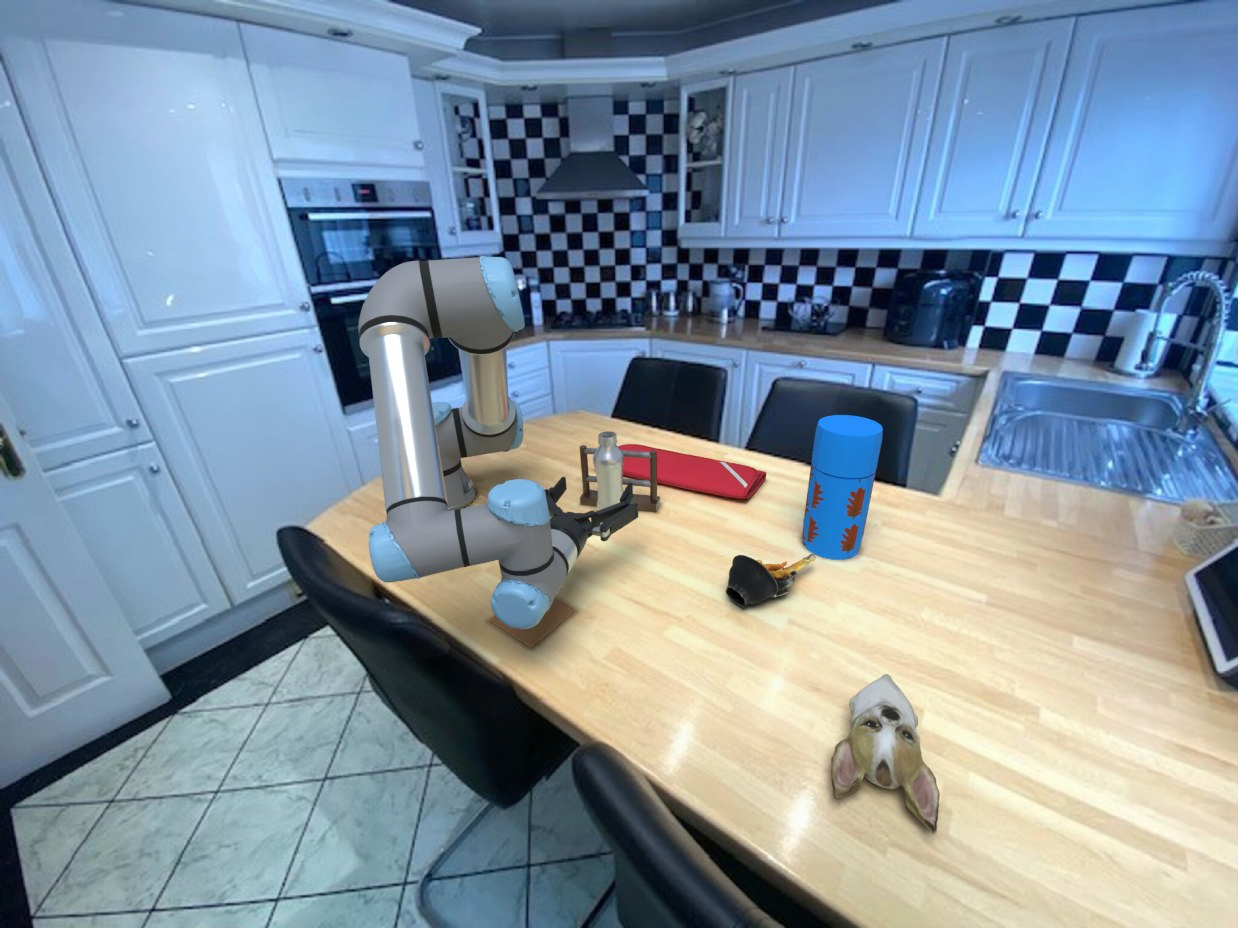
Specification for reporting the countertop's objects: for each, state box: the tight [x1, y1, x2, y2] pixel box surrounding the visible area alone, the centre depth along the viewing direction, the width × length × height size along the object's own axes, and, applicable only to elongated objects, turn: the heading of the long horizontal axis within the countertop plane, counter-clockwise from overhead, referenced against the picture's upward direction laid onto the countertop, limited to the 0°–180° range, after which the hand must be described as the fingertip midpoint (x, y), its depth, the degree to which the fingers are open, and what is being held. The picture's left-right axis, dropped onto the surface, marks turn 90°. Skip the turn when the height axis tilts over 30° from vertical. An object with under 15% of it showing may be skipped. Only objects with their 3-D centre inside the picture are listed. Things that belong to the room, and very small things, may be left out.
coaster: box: [489, 598, 576, 648], centre depth 84 cm, size 10×10×1 cm
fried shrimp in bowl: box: [725, 553, 817, 608], centre depth 87 cm, size 9×11×18 cm
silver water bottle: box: [592, 431, 625, 511], centre depth 107 cm, size 6×7×20 cm
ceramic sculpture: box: [830, 673, 941, 835], centre depth 58 cm, size 11×9×15 cm
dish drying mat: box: [617, 443, 767, 500], centre depth 128 cm, size 16×41×4 cm, turn 58°
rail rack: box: [579, 444, 661, 513], centre depth 114 cm, size 18×4×14 cm, turn 75°
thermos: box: [801, 414, 884, 561], centre depth 94 cm, size 11×11×25 cm
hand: (597, 485), depth 99 cm, fingers open, 13 cm apart
